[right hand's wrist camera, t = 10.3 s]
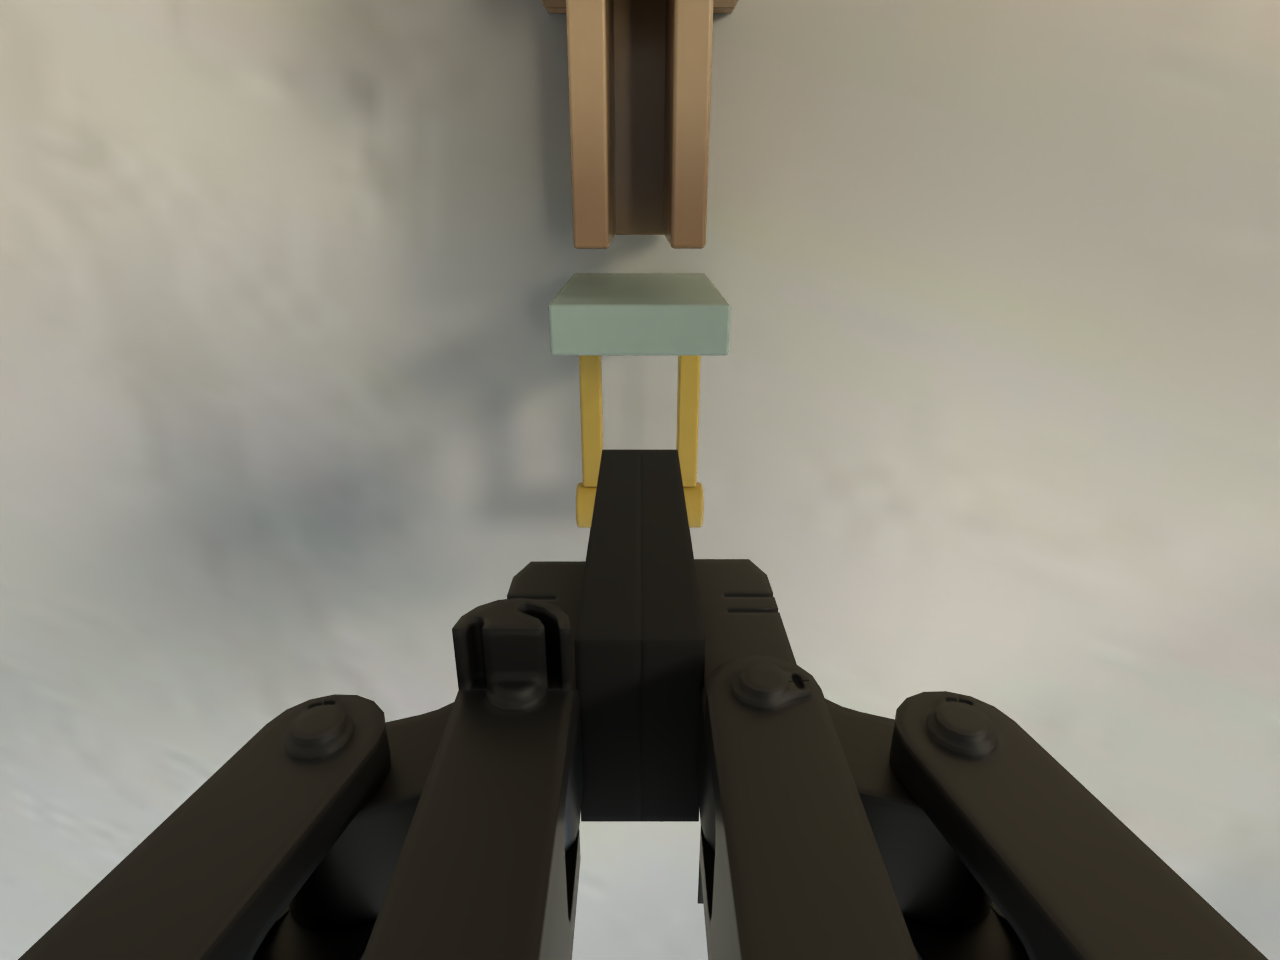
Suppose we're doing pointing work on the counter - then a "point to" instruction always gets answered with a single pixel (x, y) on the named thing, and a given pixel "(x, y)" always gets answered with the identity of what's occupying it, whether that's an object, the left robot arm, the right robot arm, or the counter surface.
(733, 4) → the cabinet
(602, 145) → the drawer
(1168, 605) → the counter surface
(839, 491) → the counter surface
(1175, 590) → the counter surface
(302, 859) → the right robot arm
